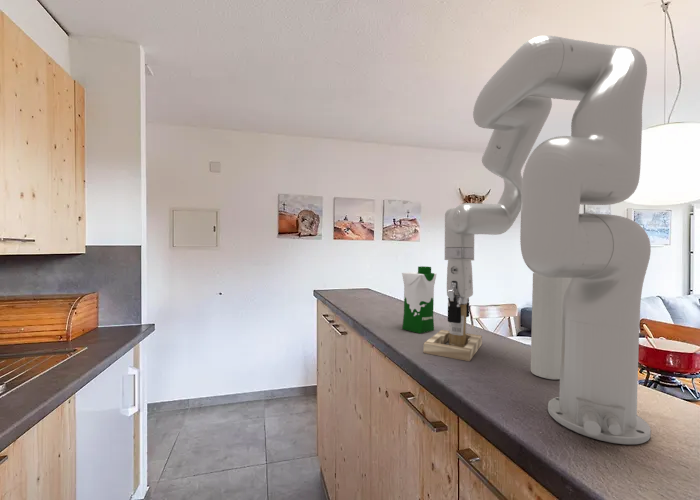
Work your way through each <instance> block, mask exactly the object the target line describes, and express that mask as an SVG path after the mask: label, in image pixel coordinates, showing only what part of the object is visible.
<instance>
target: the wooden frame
mask: <svg viewBox="0 0 700 500" xmlns="http://www.w3.org/2000/svg"><path fill="white" fill-rule="evenodd" d="M447 343H449V330H447V329H440V330H439V331H438V332H436V333H435V334H434V335H433V336H431V337H430V338H428V339H427V340H426V341H424V343H423V353H422V354H427V355H433V356H438V357H444V358H449V359H454V360H461V361H465V362H470V361H471V360H472V359H473V357H474V356H475V355H476V353H477V352H478V350H479V349H480V348H481V346H482V345H483V335H480V334H474V333H467V332H466V346H465V347H458V346H452V345H449V344H447Z"/></svg>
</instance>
